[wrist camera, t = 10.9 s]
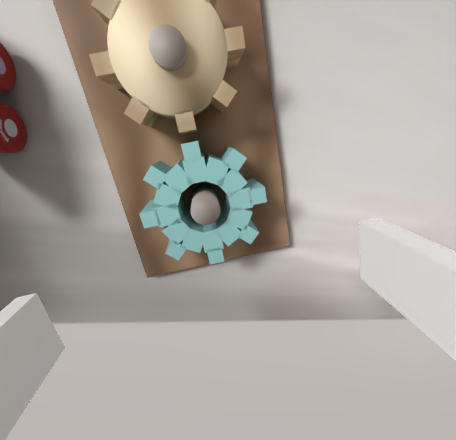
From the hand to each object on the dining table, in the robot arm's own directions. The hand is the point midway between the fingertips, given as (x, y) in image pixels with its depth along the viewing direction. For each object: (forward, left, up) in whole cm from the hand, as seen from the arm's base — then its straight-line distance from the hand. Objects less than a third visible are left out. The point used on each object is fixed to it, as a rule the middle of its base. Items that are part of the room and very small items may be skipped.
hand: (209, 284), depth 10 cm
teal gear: (0, 0, -17) cm, 17 cm away
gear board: (0, +6, -19) cm, 19 cm away
